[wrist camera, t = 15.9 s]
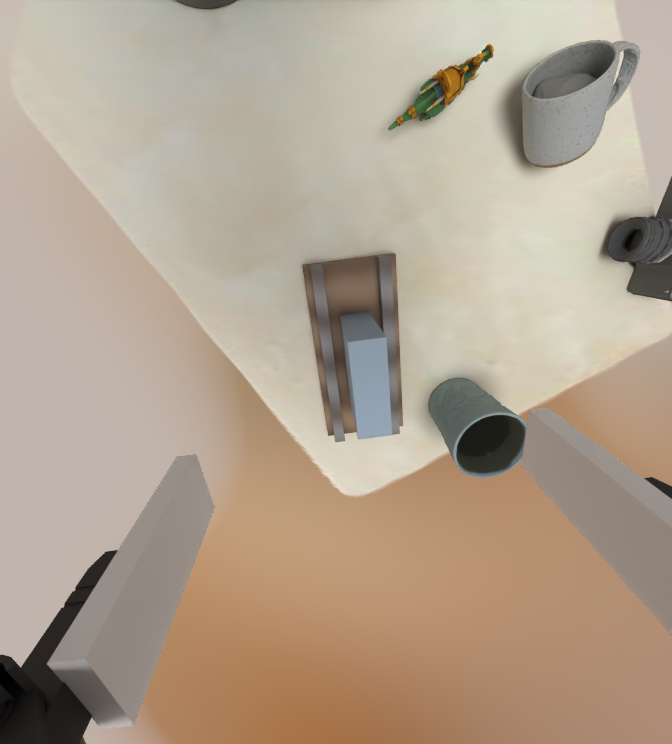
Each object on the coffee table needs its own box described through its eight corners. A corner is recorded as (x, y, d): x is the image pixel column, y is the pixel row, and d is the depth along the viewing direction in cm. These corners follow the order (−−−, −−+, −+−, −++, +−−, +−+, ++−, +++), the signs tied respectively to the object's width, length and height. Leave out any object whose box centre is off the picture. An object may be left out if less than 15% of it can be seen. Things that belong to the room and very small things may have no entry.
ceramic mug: (516, 147, 41) (533, 185, 37) (513, 73, 34) (533, 109, 31) (623, 99, 36) (655, 136, 32) (642, 3, 30) (684, 36, 26)
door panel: (339, 315, 44) (347, 342, 33) (368, 311, 44) (386, 337, 33) (348, 393, 49) (358, 439, 38) (375, 389, 49) (392, 434, 38)
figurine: (477, 86, 37) (519, 48, 29) (386, 154, 39) (403, 135, 31) (466, 56, 36) (506, 8, 28) (373, 128, 38) (387, 102, 30)
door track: (303, 265, 43) (301, 267, 40) (392, 253, 43) (399, 254, 40) (328, 430, 53) (328, 443, 50) (400, 420, 53) (406, 432, 50)
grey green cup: (458, 361, 50) (499, 397, 39) (498, 398, 53) (547, 442, 42) (411, 406, 52) (436, 452, 41) (451, 439, 55) (485, 490, 44)
